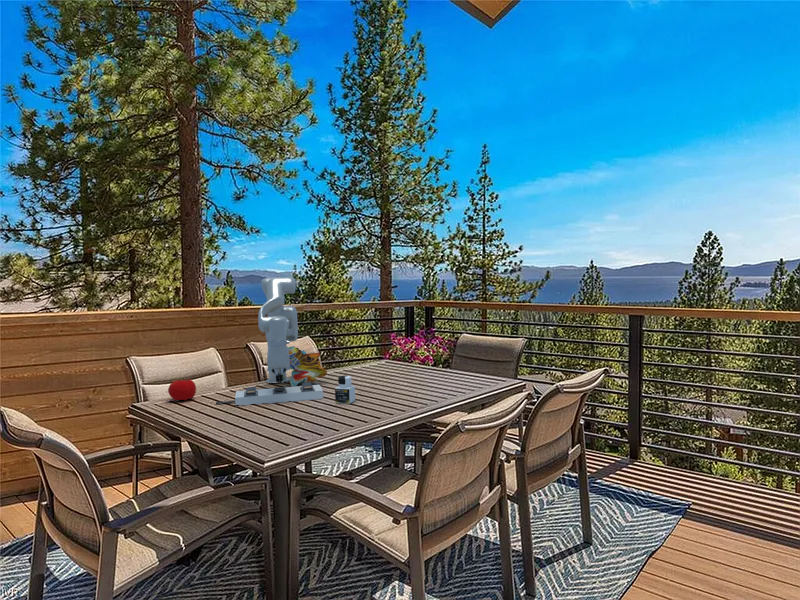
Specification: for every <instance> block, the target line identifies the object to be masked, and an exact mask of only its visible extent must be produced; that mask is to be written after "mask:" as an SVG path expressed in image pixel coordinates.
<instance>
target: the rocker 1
mask: <svg viewBox="0 0 800 600" xmlns="http://www.w3.org/2000/svg"><path fill="white" fill-rule="evenodd" d="M256 390H257V386H250V387H249V386H247V387H246V388H245V391H246V395H255V394H256Z"/></svg>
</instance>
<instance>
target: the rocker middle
mask: <svg viewBox="0 0 800 600" xmlns="http://www.w3.org/2000/svg"><path fill="white" fill-rule="evenodd" d="M284 387H285V386H281V387H273V388H274V389H275V391H283V390H285V388H284Z"/></svg>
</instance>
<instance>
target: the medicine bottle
mask: <svg viewBox="0 0 800 600" xmlns="http://www.w3.org/2000/svg"><path fill="white" fill-rule="evenodd" d="M337 381H338V382H337V383H338V385H337V386H336V387H335V388H334V397H335V398H334V399H335V400H334V401H335V402H334V403H335V404H343V405H344V404H345V405H347V404H348V405H349V404H350V405H351V404H352V403H353V402H355V401H356V386H355V385H352V376H350V375H340V376H339V377H338V378H337Z"/></svg>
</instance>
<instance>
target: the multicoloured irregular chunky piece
mask: <svg viewBox="0 0 800 600" xmlns="http://www.w3.org/2000/svg"><path fill="white" fill-rule="evenodd" d="M288 350H289V358H290V368H291V369H290V370H292V371H291V377H289V383H290V387H296V386H298V384H302V383H310V382H311V384H312V385H313V384H314V383H315V382H316V378H319V379H320V378H323V377H325V376H327V373H328V371H327V370H326V369H325V368H324V367H322V366H321V364H322V363H321V361H320V360H321V359H320V358H319V357H321V353H320V352H313V353H307V352H306V351H305V350H304V349H303V350H301V349H299V347H296V346H288Z"/></svg>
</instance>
